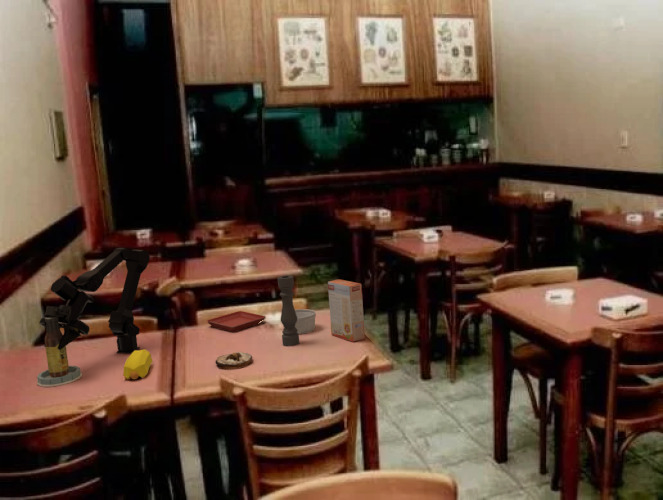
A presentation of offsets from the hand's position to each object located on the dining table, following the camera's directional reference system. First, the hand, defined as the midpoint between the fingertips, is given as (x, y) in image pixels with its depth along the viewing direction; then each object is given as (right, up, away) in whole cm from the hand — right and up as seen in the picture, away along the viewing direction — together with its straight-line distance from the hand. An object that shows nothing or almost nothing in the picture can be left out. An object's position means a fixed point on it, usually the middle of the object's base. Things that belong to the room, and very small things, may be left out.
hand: (52, 348), depth 212 cm
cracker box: (+99, 0, +26) cm, 102 cm away
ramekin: (+80, +1, +40) cm, 90 cm away
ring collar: (+1, -11, +3) cm, 11 cm away
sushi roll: (+59, -7, +6) cm, 60 cm away
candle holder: (+78, -2, +23) cm, 81 cm away
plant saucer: (+53, +1, +55) cm, 76 cm away
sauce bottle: (+1, -9, +3) cm, 10 cm away
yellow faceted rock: (+27, -9, +4) cm, 29 cm away
